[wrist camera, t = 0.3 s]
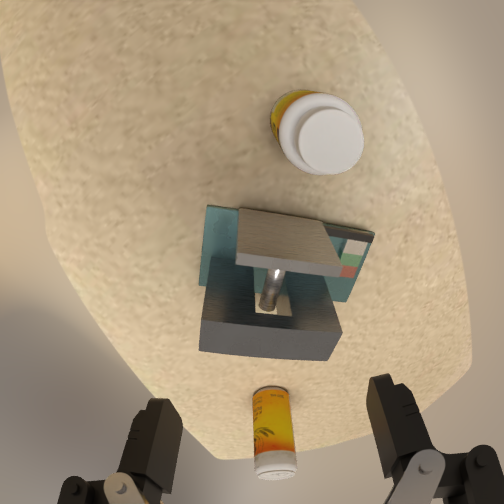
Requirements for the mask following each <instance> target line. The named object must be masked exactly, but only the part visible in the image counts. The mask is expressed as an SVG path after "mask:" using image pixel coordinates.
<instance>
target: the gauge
mask: <svg viewBox="0 0 504 504" xmlns="http://www.w3.org/2000/svg"><path fill="white" fill-rule="evenodd" d="M238 211H239V209H233V208H226V207H219V206H211V205H207V210H206V218H205V227H204V237H203V246H202V256H201V266H200V277H199V286H206V291H205V298H204V304H203V311H202V318H201V328H200V340H199V351H204V352H211V353H220V354H229V355H238V356H249V357H261V358H274V359H290V360H311V361H328V359H329V357H330V355H331V354H332V352H333V350H334V348H335V346H336V344H337V343H338V341H339V339H340V337H341V335H342V333H343V332H342V329H341V326H340V323H339V320H338V317H337V314H336V311H335V308H334V305H333V302H332V301H338V302H346V301H347V299H348V297H349V295H350V293H351V290H352V288H353V286H354V284H355V281H356V279H357V277H358V274H359V272H360V270H361V267H362V265H363V263H364V260H365V258H366V255H367V253H368V250H369V248H370V245H371V243H367V242H361V241H355V240H350V239H344V238H338V237H332V236H329V238H330V240H331V242H332V245H333V247H334V249H335V251H336V253H337V255H338V257H339V259H340V262H341V264H342V266H343V268H342V271H341V273H340V276H339V277H331V276H322V275H314V274H306V273H298V272H290V271H286V272H285V276H284V279H283V283H282V286H281V289H280V293H279V296H278V299H277V303H276V308H277V315H273V314H264V313H256V312H255V293H262V290H263V286H264V282H265V278H266V274H267V270H268V269H267V268H259V267H252V266H244V265H236V264H235V261H236V238H237V217H238ZM322 224H323V225H325V226H331V227H337V228H342V229H348V230H353V231H359V232H364V233H370V234H373V235H375V233H374V232H370V231H365V230H360V229H355V228H349V227H344V226H338V225H333V224H327V223H322Z"/></svg>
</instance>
